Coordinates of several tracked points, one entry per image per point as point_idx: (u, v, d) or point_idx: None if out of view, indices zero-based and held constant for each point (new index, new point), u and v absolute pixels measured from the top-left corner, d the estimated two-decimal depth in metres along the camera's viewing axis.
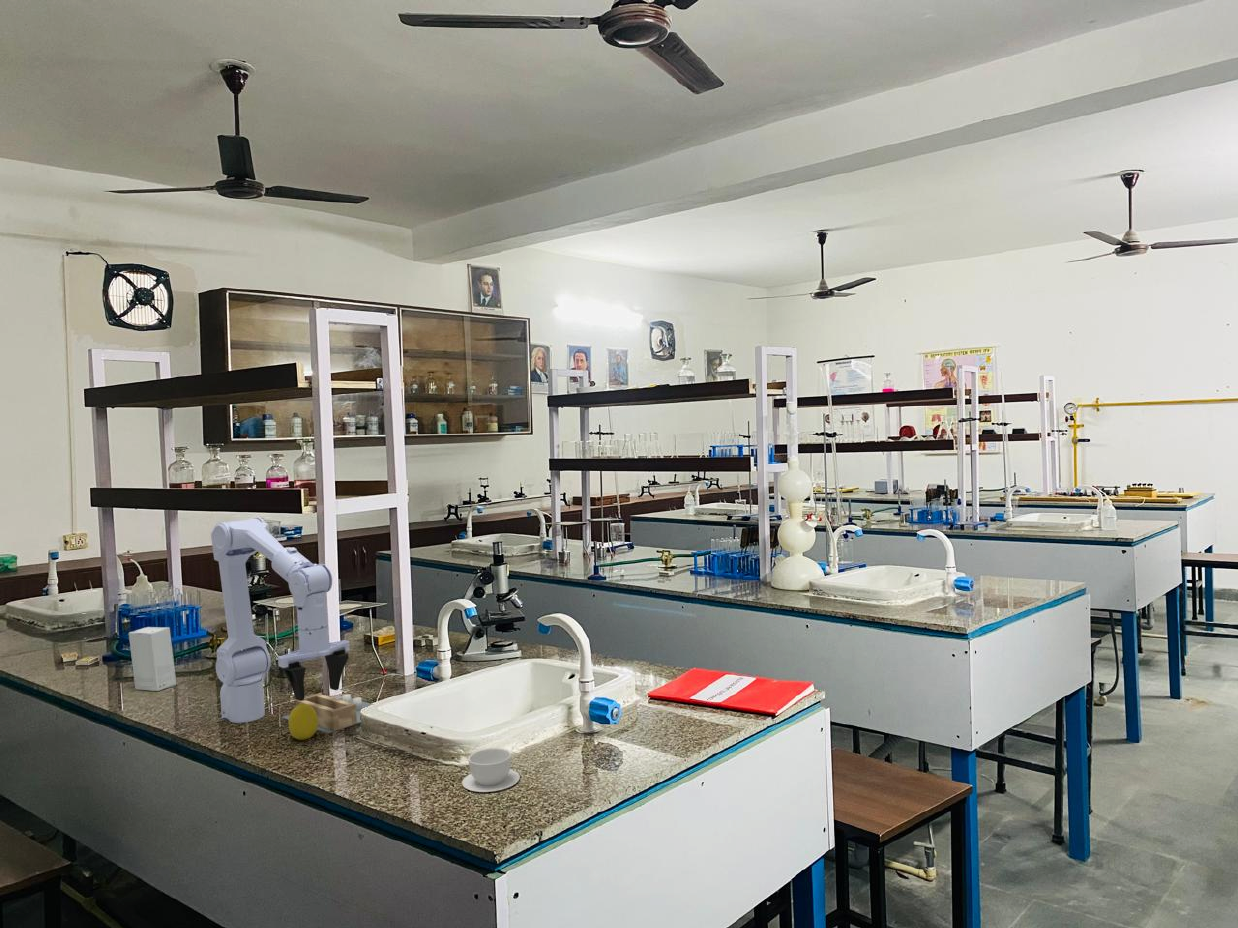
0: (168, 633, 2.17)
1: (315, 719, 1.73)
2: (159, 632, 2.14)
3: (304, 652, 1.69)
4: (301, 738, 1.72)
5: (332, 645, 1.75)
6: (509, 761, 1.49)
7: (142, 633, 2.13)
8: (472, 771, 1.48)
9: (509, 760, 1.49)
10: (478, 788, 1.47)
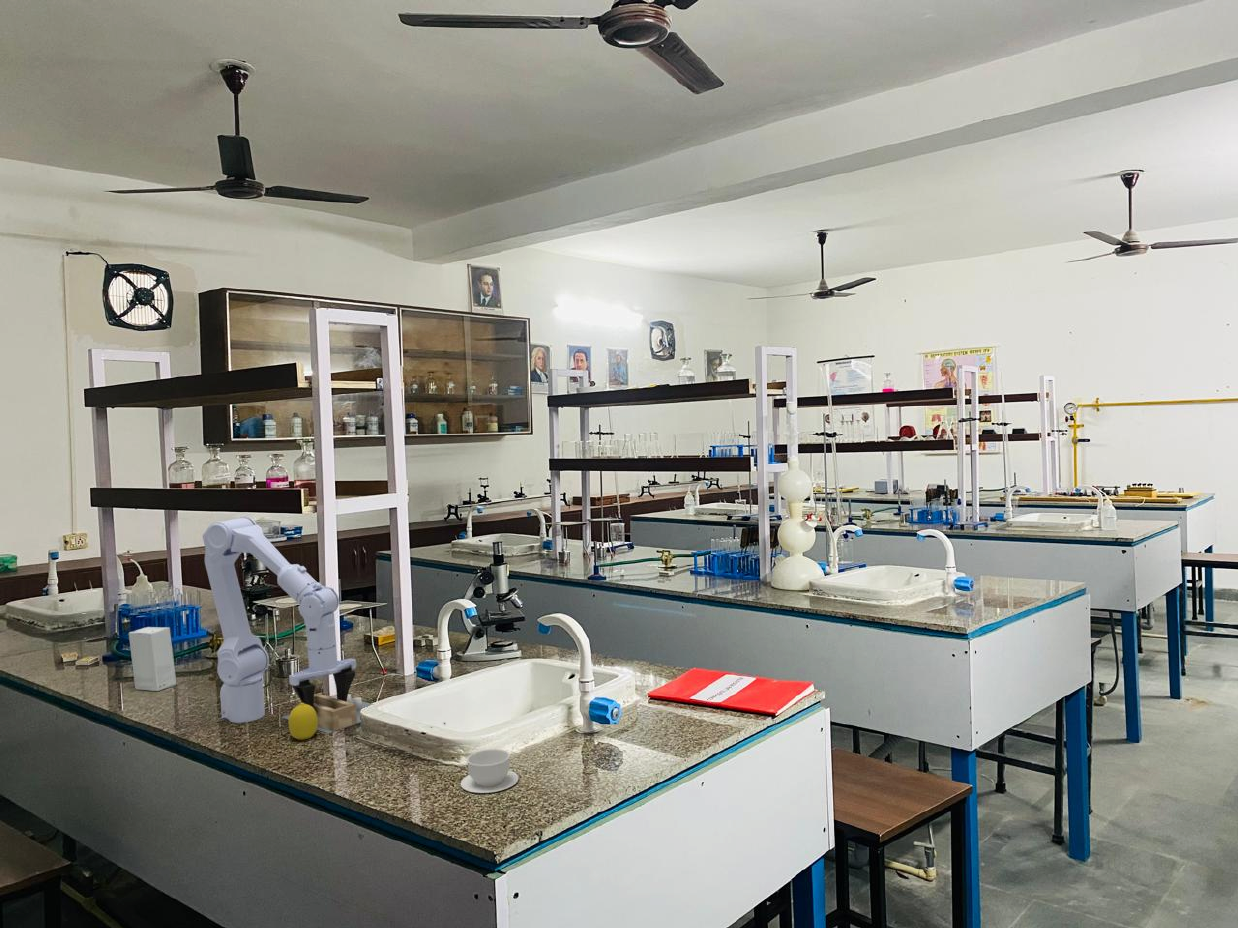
0: (168, 633, 2.17)
1: (315, 719, 1.73)
2: (159, 632, 2.14)
3: (314, 670, 1.80)
4: (301, 738, 1.72)
5: (340, 663, 1.85)
6: (508, 762, 1.49)
7: (142, 633, 2.13)
8: (471, 772, 1.48)
9: (508, 761, 1.49)
10: (477, 789, 1.47)
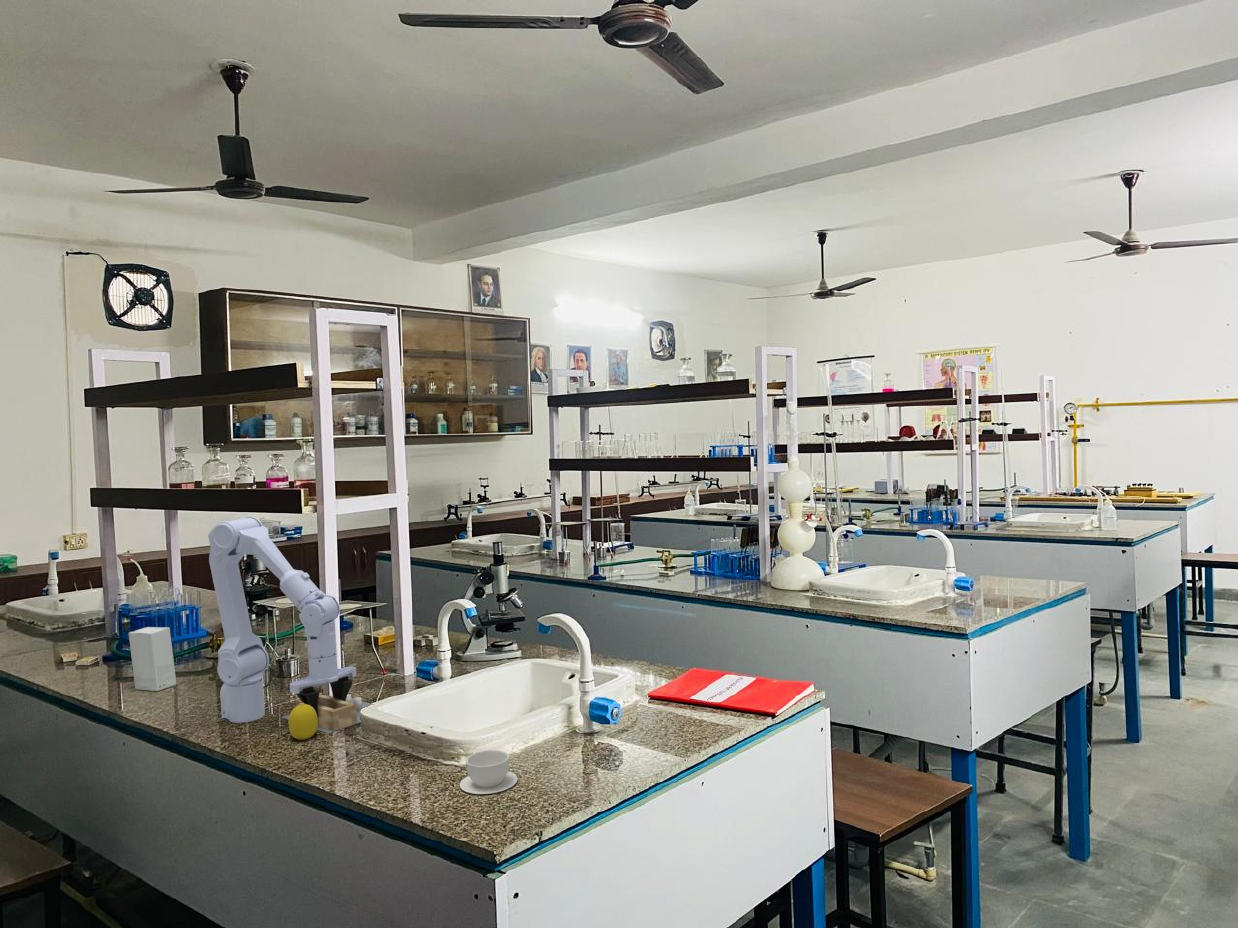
0: (168, 633, 2.17)
1: (315, 719, 1.73)
2: (159, 632, 2.14)
3: (314, 679, 1.80)
4: (301, 738, 1.72)
5: (340, 671, 1.85)
6: (507, 763, 1.49)
7: (142, 633, 2.13)
8: (470, 773, 1.47)
9: (507, 762, 1.49)
10: (476, 790, 1.46)
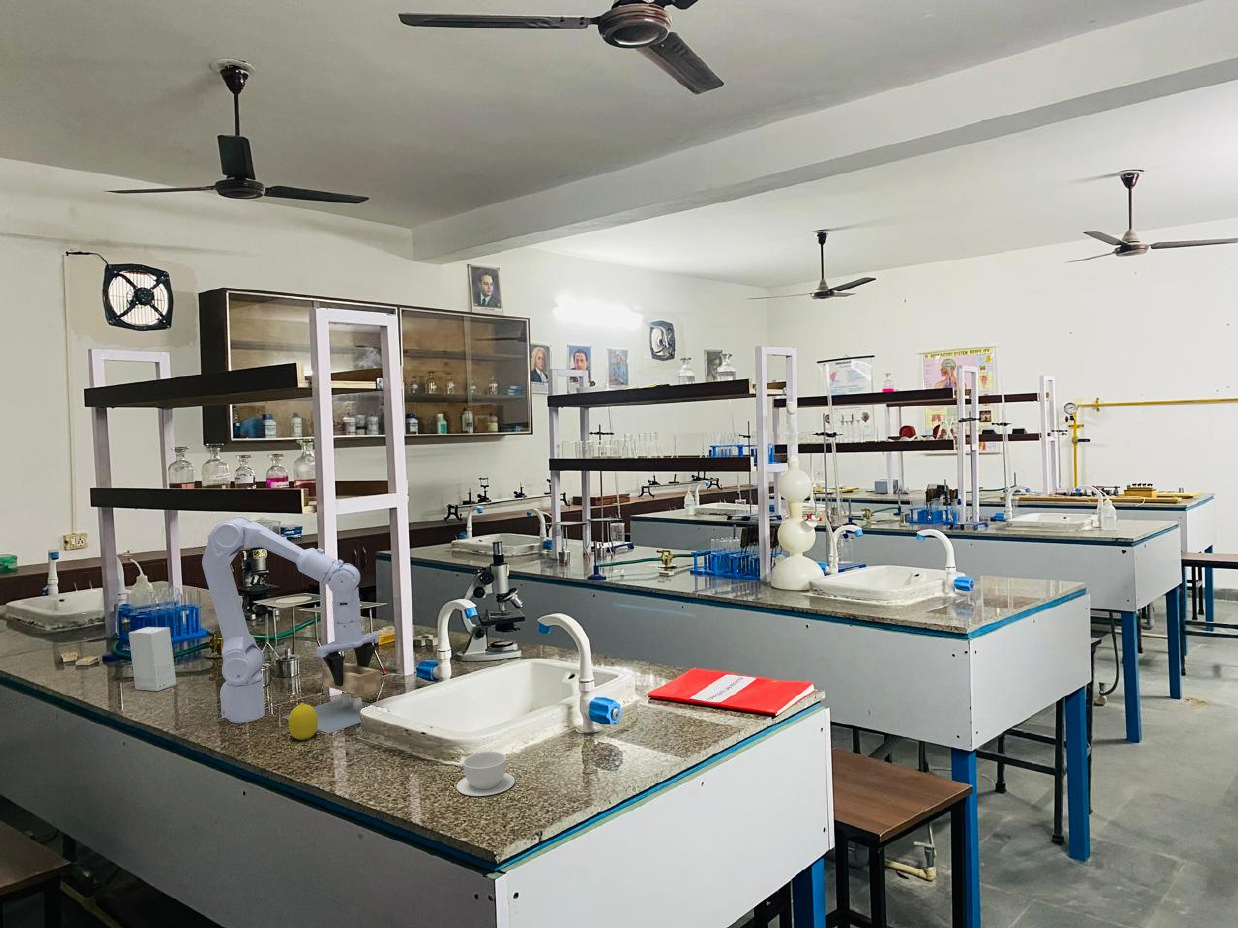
0: (168, 633, 2.17)
1: (315, 719, 1.73)
2: (159, 632, 2.14)
3: (339, 643, 1.87)
4: (301, 738, 1.72)
5: (364, 637, 1.93)
6: (504, 765, 1.48)
7: (142, 633, 2.13)
8: (466, 775, 1.47)
9: (504, 764, 1.48)
10: (473, 792, 1.46)
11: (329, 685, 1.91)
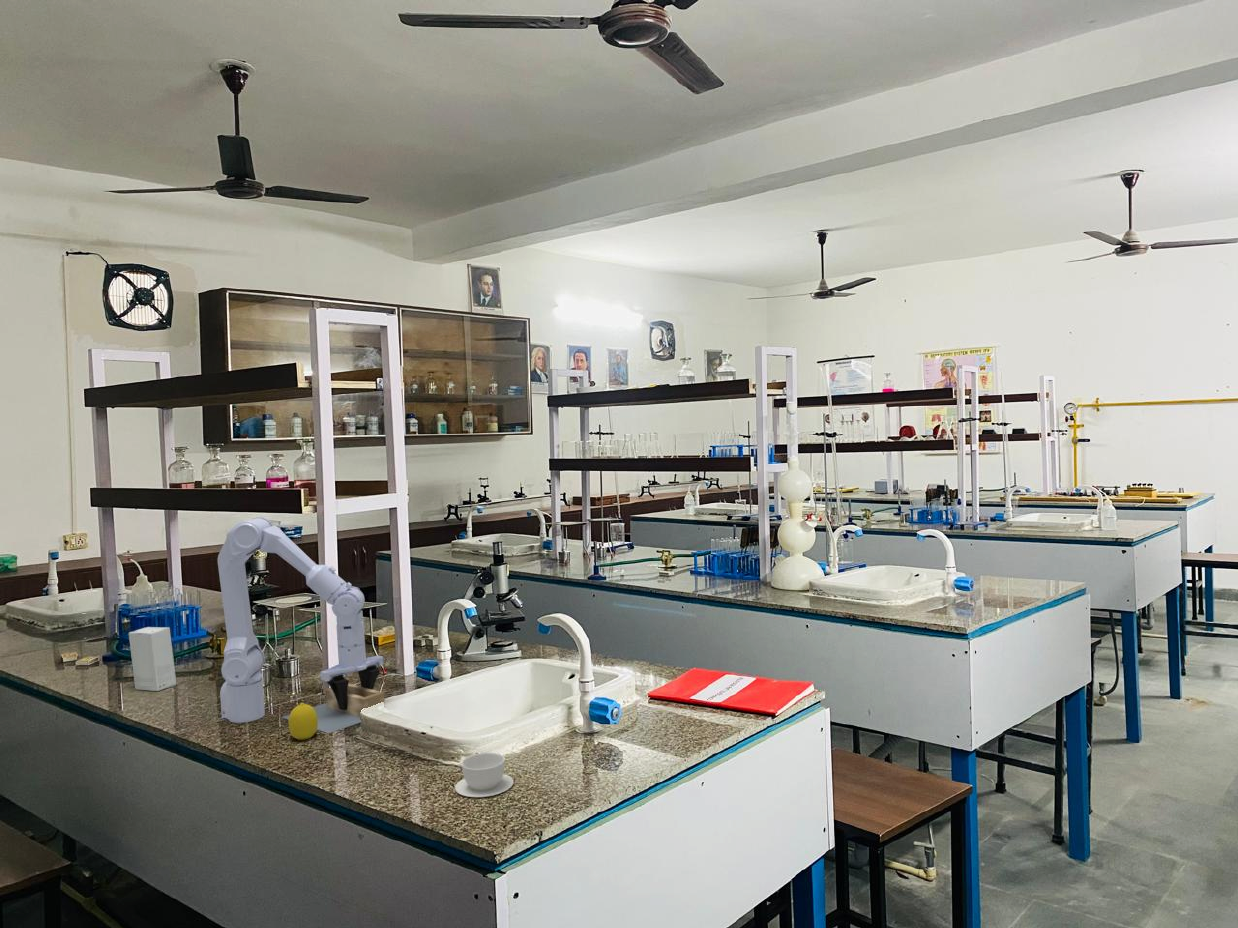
0: (168, 633, 2.17)
1: (315, 719, 1.73)
2: (159, 632, 2.14)
3: (343, 667, 1.87)
4: (301, 738, 1.72)
5: (368, 660, 1.92)
6: (503, 766, 1.47)
7: (142, 633, 2.13)
8: (465, 776, 1.46)
9: (503, 765, 1.47)
10: (471, 793, 1.45)
11: (333, 706, 1.91)
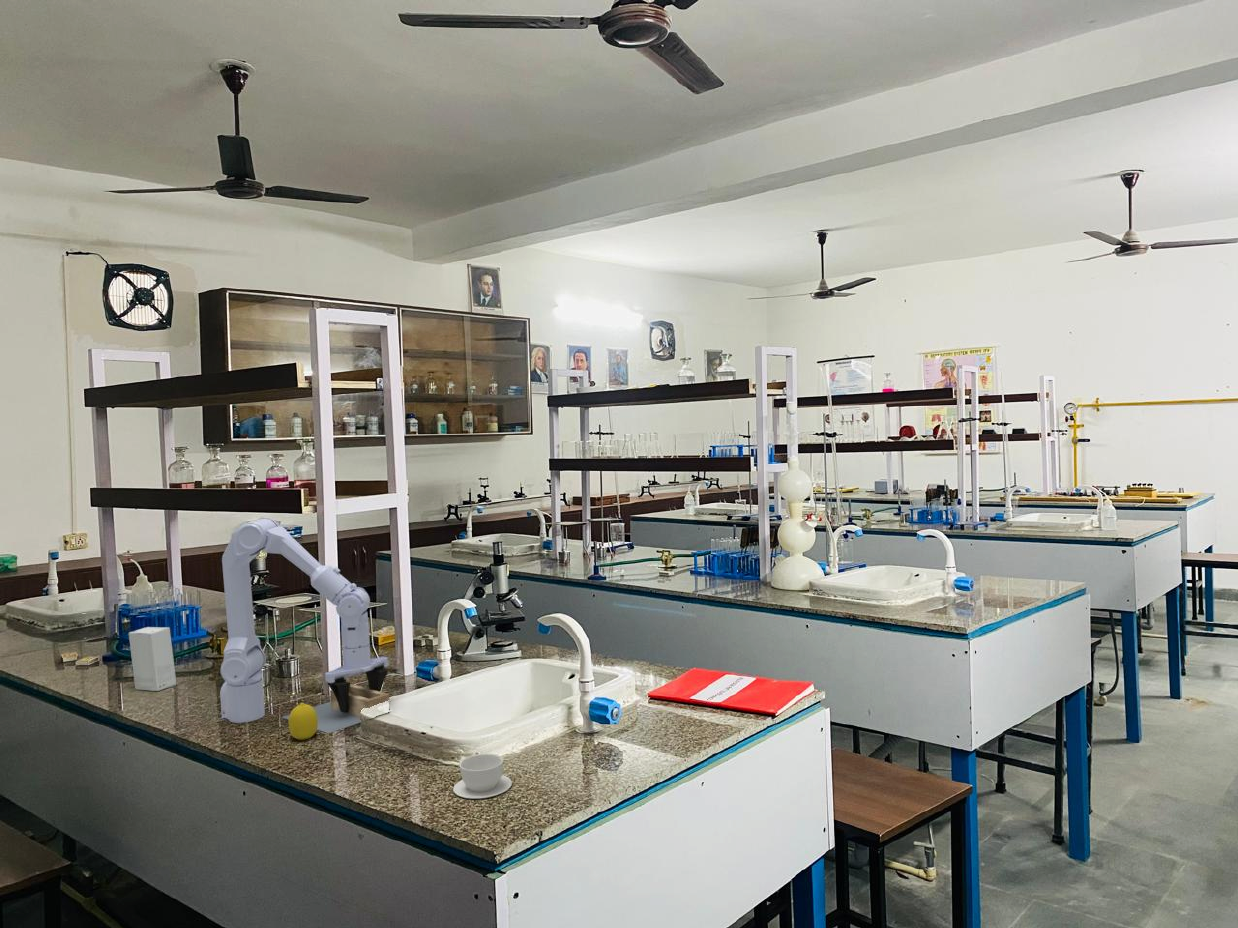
0: (168, 633, 2.17)
1: (315, 719, 1.73)
2: (159, 632, 2.14)
3: (348, 668, 1.86)
4: (301, 738, 1.72)
5: (372, 661, 1.91)
6: (501, 767, 1.47)
7: (142, 633, 2.13)
8: (463, 777, 1.46)
9: (501, 766, 1.47)
10: (469, 794, 1.45)
11: (337, 708, 1.89)
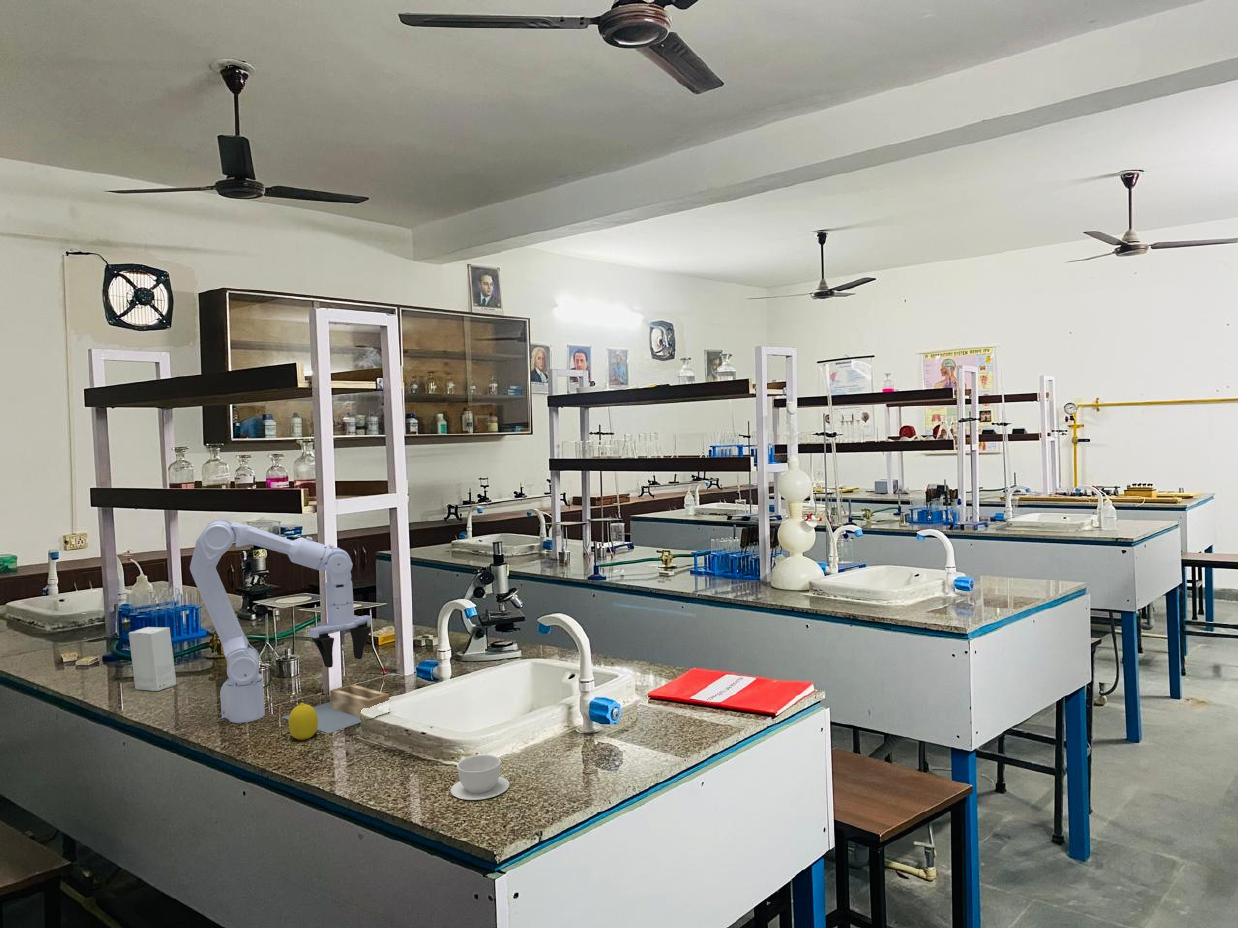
0: (168, 633, 2.17)
1: (315, 719, 1.73)
2: (159, 632, 2.14)
3: (332, 625, 1.92)
4: (301, 738, 1.72)
5: (356, 619, 1.98)
6: (498, 768, 1.47)
7: (142, 633, 2.13)
8: (461, 778, 1.45)
9: (498, 767, 1.46)
10: (467, 796, 1.44)
11: (337, 708, 1.89)
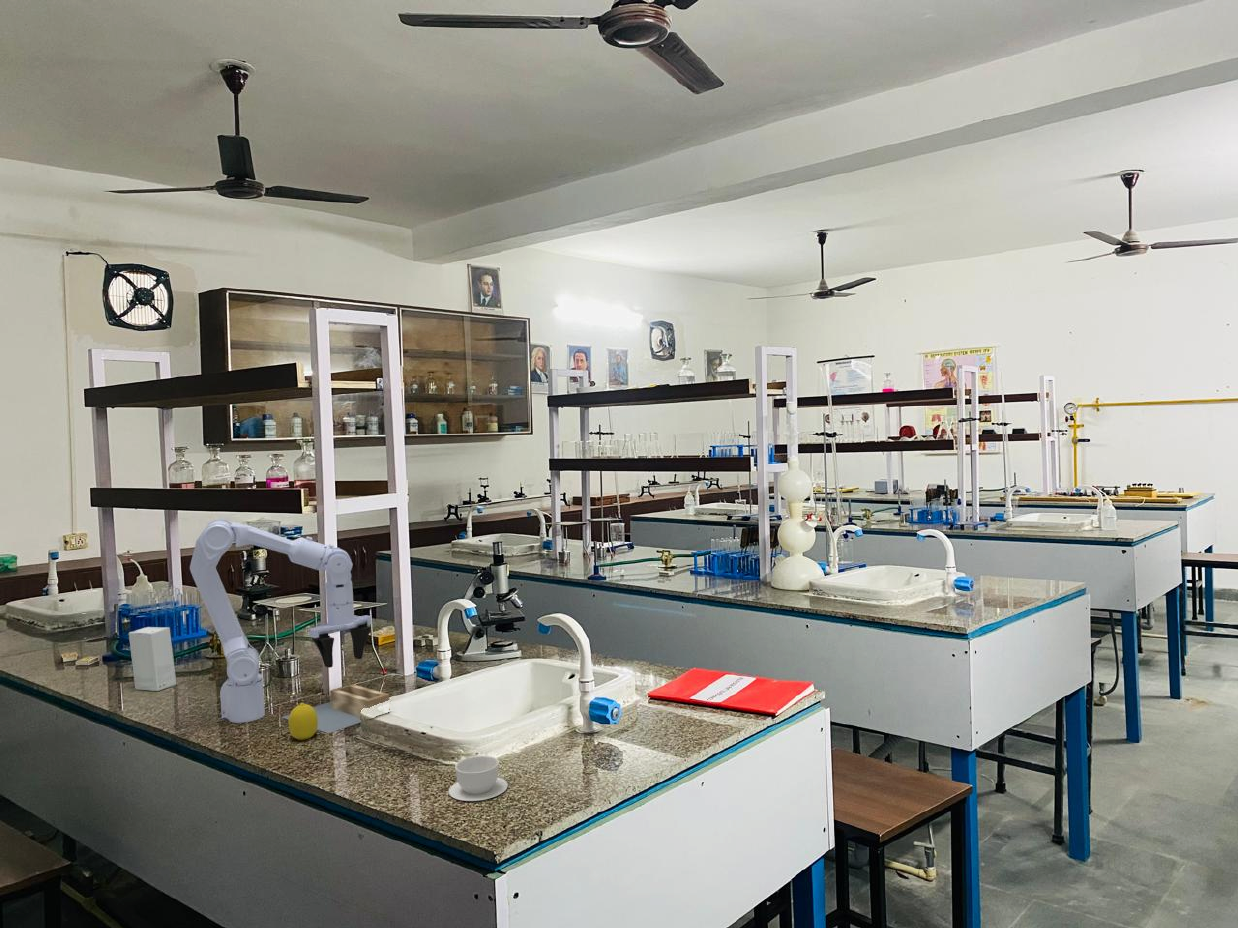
0: (168, 633, 2.17)
1: (315, 719, 1.73)
2: (159, 632, 2.14)
3: (332, 625, 1.92)
4: (301, 738, 1.72)
5: (356, 619, 1.98)
6: (497, 769, 1.46)
7: (142, 633, 2.13)
8: (459, 779, 1.45)
9: (497, 768, 1.46)
10: (465, 797, 1.44)
11: (337, 708, 1.89)
